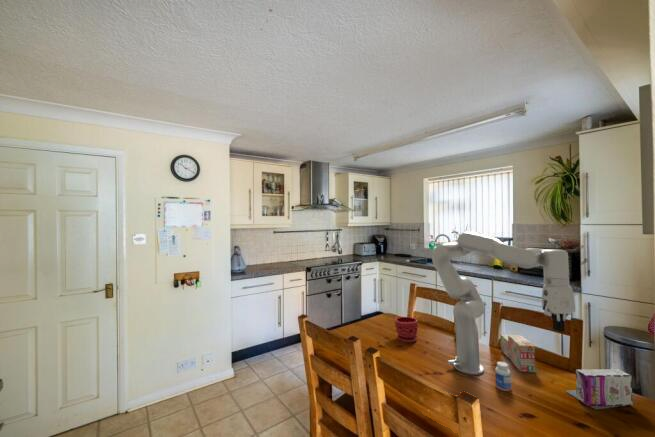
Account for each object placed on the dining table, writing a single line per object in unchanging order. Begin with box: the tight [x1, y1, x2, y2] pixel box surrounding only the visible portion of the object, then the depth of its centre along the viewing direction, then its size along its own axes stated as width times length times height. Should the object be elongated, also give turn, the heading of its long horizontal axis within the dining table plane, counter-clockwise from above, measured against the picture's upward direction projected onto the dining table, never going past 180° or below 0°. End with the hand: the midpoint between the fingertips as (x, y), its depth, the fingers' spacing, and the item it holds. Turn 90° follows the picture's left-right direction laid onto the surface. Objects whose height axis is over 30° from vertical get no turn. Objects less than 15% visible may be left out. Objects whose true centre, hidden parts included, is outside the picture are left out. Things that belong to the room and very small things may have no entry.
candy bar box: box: [575, 368, 633, 407], centre depth 104 cm, size 11×5×16 cm
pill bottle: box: [494, 361, 512, 392], centre depth 115 cm, size 6×5×10 cm
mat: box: [565, 389, 620, 410], centre depth 107 cm, size 14×11×1 cm
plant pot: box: [394, 316, 419, 343], centre depth 167 cm, size 13×13×12 cm
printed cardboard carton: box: [500, 334, 536, 373], centre depth 137 cm, size 21×6×12 cm, turn 169°
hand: (558, 330), depth 105 cm, fingers closed
